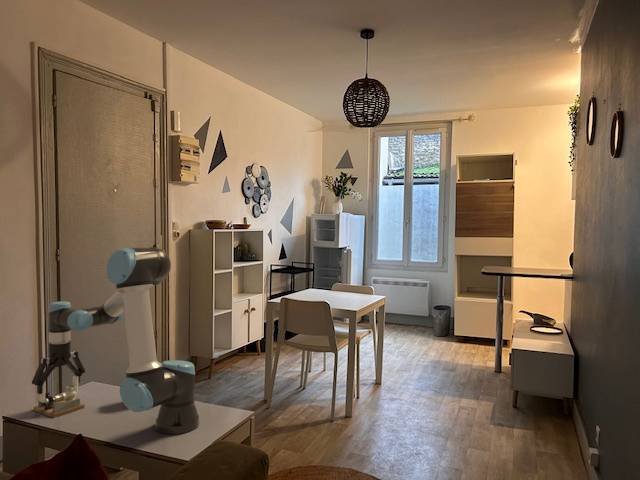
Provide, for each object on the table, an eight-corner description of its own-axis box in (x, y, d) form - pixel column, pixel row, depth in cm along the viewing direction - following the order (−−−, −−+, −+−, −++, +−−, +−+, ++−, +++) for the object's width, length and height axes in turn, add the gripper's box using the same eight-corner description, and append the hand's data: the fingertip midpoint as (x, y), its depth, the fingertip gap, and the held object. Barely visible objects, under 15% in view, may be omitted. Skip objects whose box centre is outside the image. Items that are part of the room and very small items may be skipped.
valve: (70, 398, 195) (40, 407, 185) (71, 382, 195) (41, 390, 185) (80, 403, 192) (50, 412, 182) (81, 387, 192) (51, 395, 181)
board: (84, 408, 190) (84, 398, 190) (54, 417, 180) (54, 407, 180) (63, 400, 197) (63, 391, 197) (33, 410, 187) (33, 400, 187)
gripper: (83, 335, 200) (83, 386, 201) (21, 346, 179) (20, 404, 180) (94, 337, 197) (94, 390, 197) (32, 349, 175) (32, 408, 176)
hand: (59, 396), depth 188 cm, fingers open, 12 cm apart
